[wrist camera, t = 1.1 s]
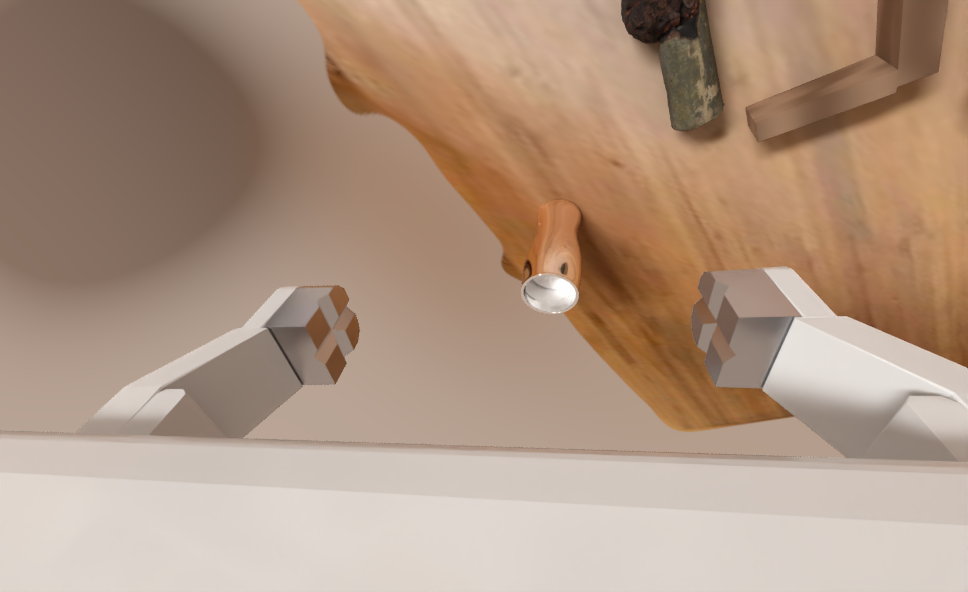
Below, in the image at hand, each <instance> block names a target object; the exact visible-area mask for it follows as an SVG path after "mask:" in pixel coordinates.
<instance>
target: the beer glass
mask: <svg viewBox="0 0 968 592" xmlns="http://www.w3.org/2000/svg"><path fill="white" fill-rule="evenodd" d="M580 223H581V213H580V210H579V209H578V207H577V206H576V205H575V204H573V203H572V202H570V201H567V200H563V199H555V200H551V201H548V202H546V203H545V204H544V205H542V206H541V208H540V209H539V211H538V213H537V226H538V229H537V233H536V235H535V237H534V239H533V241H532V243H531V245H530V247H529V250H528V252H527V255H526V258H525V262H524V267H523V274H522V286H521V296H522V299H523V301H524V302H525V303H526V304H527V305H528V306H529V307H530V308H532V309H534V310H536V311H538V312H542V313H546V314H558V313H563V312H566V311H568V310H570V309H571V308H573V307H574V306H575V305H576V303H577V301H578V299H579V291H580V285H581V278H582V257H581V251H580V246H579V242H578V237H577V231H578V229H579V226H580Z"/></svg>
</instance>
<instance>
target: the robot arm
mask: <svg viewBox="0 0 968 592" xmlns="http://www.w3.org/2000/svg"><path fill="white" fill-rule="evenodd" d="M698 289H699V291H700V293H701V295H702V298H701V299H700V300H698V301H697V302H696V303H695V304H694V306H693V310H692V315H691V329H692V334H693V338H694V340H695V343H696V345H697V347H698V348H700V349H701V350H703V351H704V352H706V353H707V354H706V358H705V361H704V363H705V365H706V367H707V369H708V372H709V374H710V376H711V378H712V380H713V382H714V384H715V387H739V388H763V389H762V390H763V391H764V392H765V393H766V394H768V395H769V396H770V397H771V398H773V399H774V400H775V401H776V402H778V403H779V404H780V405H781V406H783V407H784V408H785V409H786V410H788V411H789V412H790V413H791V414H793V415H794V416H795V417H796V418H798V419H799V420H800V421H801V422H803V423H804V424H805V425H806V426H808V427H809V428H810V429H811V430H813V431H814V432H815V433H816V434H818V435H819V436H820V437H821V438H822V439H824V440H825V441H826V442H827V443H829V444H830V445H831V446H833V447H834V448H835V449H836V450H838V451H839V452H840V453H841V454H843V455H844V456H845V457H846V458H826V457H796V456H766V455H737V454H706V453H675V452H646V451H645V452H644V451H643V452H642V451H615V450H585V449H553V448H523V447H492V446H490V447H489V446H461V445H431V444H400V443H369V442H340V441H308V440H279V439H248V438H247V439H245V438H243V437H245V436H246V435H247V434H248V433H249V432H250V431H252V430H253V429H254V428H255V427H256V426H257V425H259V424H260V423H261V422H262V421H263V420H264V419H266V418H267V417H268V416H269V415H270V414H271V413H273V412H274V411H275V410H276V409H277V408H278V407H280V406H281V405H282V404H283V403H284V402H285V401H286V400H288V399H289V398H290V397H291V396H292V395H294V394H295V393H296V392H297V391H298V390H299V389H301V388H302V387H303V386H302V385H329V384H336V382H337V380H338V378H339V376H340V375H341V373H342V371H343V369H344V367H345V365H346V361H345V356H346V355H347V354H349V353H350V352H352V351H353V350H354V348H355V346H356V344H357V342H358V337H359V331H360V330H359V323H358V320H357V317H356V315H355V313H354V312H352V311H351V310H350V309H349V308H348V307H346V306H347V304H348V301H349V298H348V296H347V294H346V291H345V289H344V288H342V287H340V286H338V285H334V286H292V287H291V286H290V287H282V288H278V289H277V290H276V291H275V292H274V293H273V294H272V295H271V297H270V298H269V299H268V300H267V301H266V302H265V303H264V304H263V305H262V306H261V308H259V310H258V311H257V312H256V313H255V314H254V315H253V316H252V317H251V318H250V320H248V322H247V323H246V324H245V325H244V326H243V327H242V328H241V329H234V330H232V331H230V332H228V333H226V334H224V335H222V336H220V337H218V338H217V339H215V340H213V341H211V342H209V343H207V344H205V345H203V346H201V347H199V348H198V349H196V350H194V351H192V352H190V353H188V354H186V355H184V356H182V357H180V358H178V359H177V360H175V361H173V362H171V363H169V364H167V365H165V366H163V367H161V368H160V369H157V370H156V371H154V372H152V373H150V374H148V375H146V376H144V377H142V378H140V379H139V380H137V381H135V382H133V383H131V384H129V385H127V386H125V387H124V388H123V389H122V390H120V391H119V392H118V393H117V394H116V395H115V396H114V397H113V398H112V399H111V400H110V401H109V402H108V403H106V404H105V405H104V406H103V407H102V408H101V409H100V410H99V411H98V412H97V413H96V414H95V415H94V416H92V418H90V419H89V420H88V421H87V422H86V423H85V424H84V425H83V426H82V427H81V428H80V429H79V430H77V431H76V432H75V433H63V432H60V433H59V432H32V431H0V592H968V368H966V367H964V366H962V365H959V364H957V363H955V362H952V361H950V360H948V359H945V358H943V357H941V356H938V355H936V354H934V353H931V352H929V351H927V350H924V349H922V348H920V347H917V346H915V345H913V344H910V343H908V342H906V341H903V340H901V339H899V338H896V337H894V336H892V335H889V334H887V333H885V332H882V331H880V330H878V329H875V328H873V327H871V326H868V325H866V324H864V323H861V322H859V321H857V320H854V319H852V318H850V317H847V316H836V315H835V314H834V313H833V312H832V311H831V309H830V308H829V307H828V306H827V305H826V304H825V303H824V302H823V301H822V300H821V299H820V298H819V297H818V296H817V295H816V294H815V293H814V291H813V290H812V289H811V288H810V287H809V286H808V285H807V284H806V283H805V282H804V281H803V280H802V279H801V278H800V277H799V276H798V275H797V273H796V272H795V271H794V270H793V269H791V268H788V267H786V266H784V267H769V268H758V269H744V270H726V271H707V272H704V273H703V274H702V276H701V278H700V281H699V285H698Z"/></svg>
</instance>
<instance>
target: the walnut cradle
mask: <svg viewBox="0 0 968 592" xmlns="http://www.w3.org/2000/svg"><path fill="white" fill-rule="evenodd" d="M947 5H948V0H878V13H877V36H876V55H875V56H872V57H870V58H867V59H865V60H862V61H860V62H857V63H855V64H852V65H850V66H847V67H845V68H842V69H840V70H837V71H835V72H832V73H830V74H827V75H825V76H822V77H820V78H817V79H815V80H813V81H810V82H808V83H805V84H803V85H800V86H798V87H795V88H793V89H790V90H788V91H785V92H783V93H780V94H778V95H775V96H773V97H770V98H768V99H765V100H763V101H760V102H758V103H755V104H753V105H750V106H748V107H746V114H747V121H748V126H749V127H750V129H751V131H752V132H753V134H754V136H755V138H756V139H757V141H758V142H760V141H763V140H766V139H769V138H772V137H774V136H777V135H780V134H783V133H785V132H788V131H791V130H794V129H797V128H799V127H802V126H805V125H808V124H811V123H813V122H816V121H819V120H822V119H824V118H827V117H830V116H833V115H836V114H838V113H841V112H844V111H847V110H850V109H852V108H855V107H858V106H861V105H863V104H866V103H869V102H872V101H875V100H877V99H880V98H883V97H886V96H889V95H891V94H894V93H896V90H897V87H899V86H901V85H904V84H907V83H910V82H912V81H915V80H918V79H921V78H923V77H926V76H929V75H932V74H934V73H937V72H938V71H939V63H940V56H941V49H942V41H943V34H944V27H945V20H946V12H947Z"/></svg>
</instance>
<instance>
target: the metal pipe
mask: <svg viewBox="0 0 968 592" xmlns="http://www.w3.org/2000/svg"><path fill="white" fill-rule="evenodd" d="M621 7H622V9H621V15H622V20H623V22H624V24H625V27H626V29H627V32H628V33H629V34H630V35H632V36H633V38H635V39H638V40H640V41H642V42H644V43H656V42H658V41H659V42H660V43H661V44H660V48H659V59H660V64H661V69H662V74H663V79H664V84H665V87H666V91H667V98H668V106H669V113H670V120H671V126H672V128H673V129H674V130H678V131H688V130H693V129H696V128H698V127H700V126H702V125H704V124H706V123H708V122H710V121H711V120H713V119H715V118H716V117H718V116H719V114H720V113H721V112H722V110H723V106H724V103H723V100H722V95H721V90H720V85H719V79H718V74H717V68H716V62H715V57H714V52H713V46H712V41H711V35H710V30H709V24H708V17H707V12H706V5H705V0H622V2H621Z"/></svg>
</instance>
